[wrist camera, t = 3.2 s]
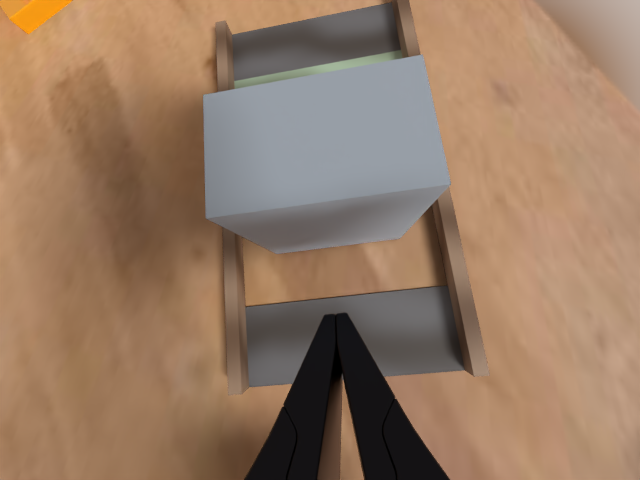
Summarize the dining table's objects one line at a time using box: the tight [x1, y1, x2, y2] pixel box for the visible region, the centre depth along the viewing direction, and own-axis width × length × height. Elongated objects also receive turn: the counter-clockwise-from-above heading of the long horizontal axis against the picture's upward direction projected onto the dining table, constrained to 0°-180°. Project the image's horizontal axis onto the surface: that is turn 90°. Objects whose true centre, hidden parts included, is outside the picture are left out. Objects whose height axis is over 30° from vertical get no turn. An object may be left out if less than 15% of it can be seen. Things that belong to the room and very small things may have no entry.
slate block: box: [203, 55, 451, 254], centre depth 17 cm, size 6×10×11 cm, turn 96°
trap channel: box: [216, 0, 490, 395], centre depth 22 cm, size 33×18×2 cm, turn 6°
